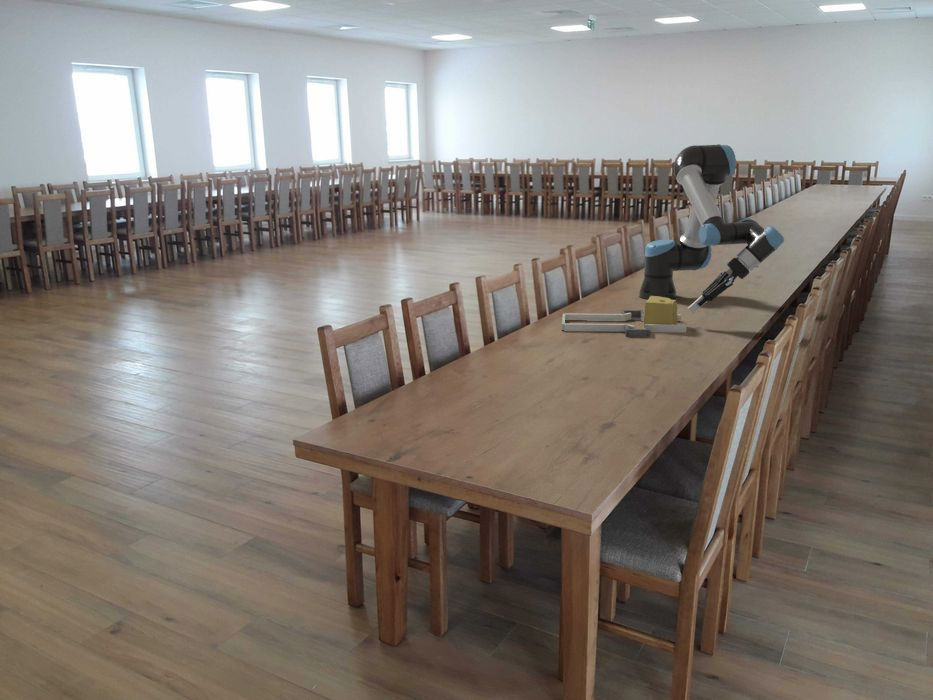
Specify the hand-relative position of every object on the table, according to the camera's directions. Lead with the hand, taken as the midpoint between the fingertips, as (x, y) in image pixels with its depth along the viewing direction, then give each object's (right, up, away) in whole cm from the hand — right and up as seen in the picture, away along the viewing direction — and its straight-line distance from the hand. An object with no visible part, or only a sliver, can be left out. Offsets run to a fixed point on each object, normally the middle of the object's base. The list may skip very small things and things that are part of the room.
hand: (690, 310), depth 268 cm
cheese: (-10, -6, +3) cm, 12 cm away
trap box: (-24, -5, +5) cm, 25 cm away
